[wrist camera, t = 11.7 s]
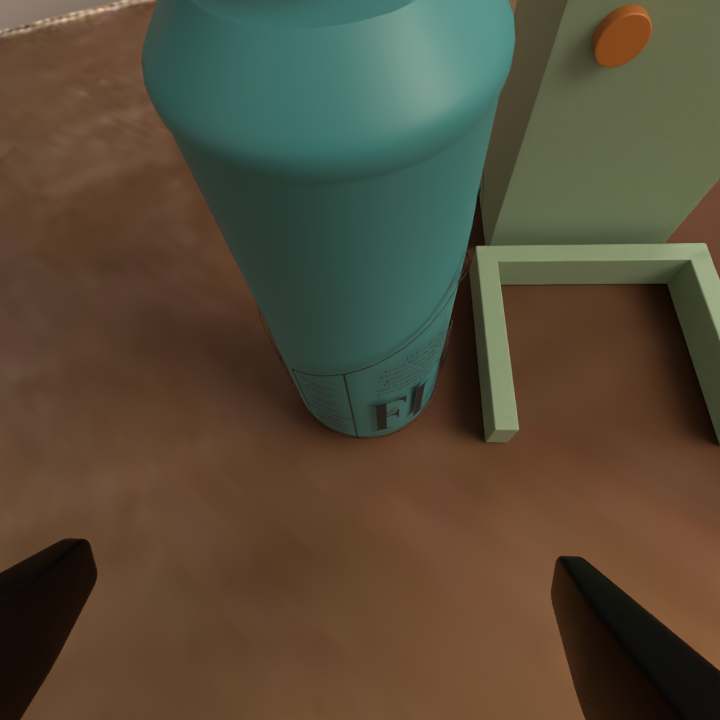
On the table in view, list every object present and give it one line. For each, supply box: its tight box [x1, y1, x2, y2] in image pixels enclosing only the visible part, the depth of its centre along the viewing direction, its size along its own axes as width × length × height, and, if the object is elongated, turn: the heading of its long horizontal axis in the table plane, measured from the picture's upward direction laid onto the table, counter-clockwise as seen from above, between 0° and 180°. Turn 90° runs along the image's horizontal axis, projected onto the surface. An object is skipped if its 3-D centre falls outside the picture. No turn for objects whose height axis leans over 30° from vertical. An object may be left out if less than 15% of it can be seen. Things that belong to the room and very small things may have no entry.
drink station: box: [469, 0, 720, 445], centre depth 16 cm, size 17×11×16 cm, turn 178°
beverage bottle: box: [142, 0, 515, 439], centre depth 12 cm, size 6×7×20 cm
